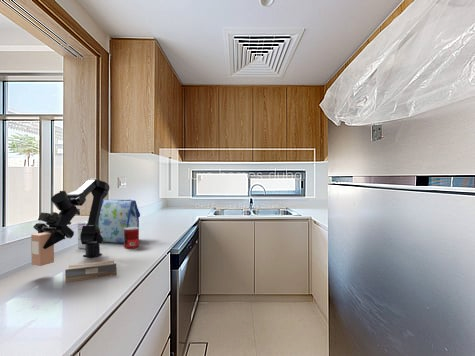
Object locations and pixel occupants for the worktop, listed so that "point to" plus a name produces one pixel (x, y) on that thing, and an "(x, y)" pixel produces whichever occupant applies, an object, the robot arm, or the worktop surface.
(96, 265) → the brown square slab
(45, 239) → the carton
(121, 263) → the worktop surface
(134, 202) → the lunch bag
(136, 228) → the canned food
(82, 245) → the syrup box
